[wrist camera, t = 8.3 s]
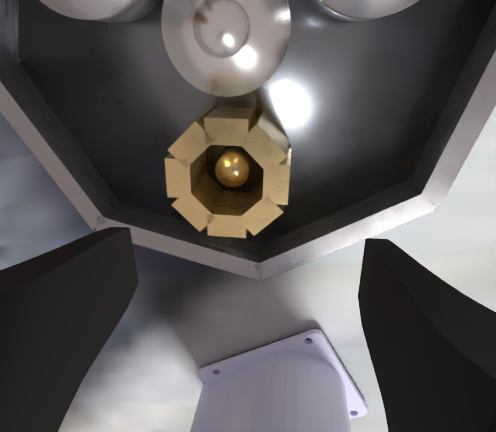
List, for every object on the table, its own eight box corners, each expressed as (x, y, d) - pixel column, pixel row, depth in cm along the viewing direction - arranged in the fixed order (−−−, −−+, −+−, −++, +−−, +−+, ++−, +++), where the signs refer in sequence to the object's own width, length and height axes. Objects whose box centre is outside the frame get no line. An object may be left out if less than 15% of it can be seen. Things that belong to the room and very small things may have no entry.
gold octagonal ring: (236, 229, 21) (226, 257, 18) (163, 157, 19) (141, 176, 17) (313, 165, 19) (315, 187, 16) (237, 82, 17) (225, 89, 15)
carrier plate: (178, 291, 24) (154, 340, 20) (-86, -66, 17) (-199, -98, 13) (559, 126, 17) (636, 151, 13) (373, -563, 11) (417, -921, 7)
